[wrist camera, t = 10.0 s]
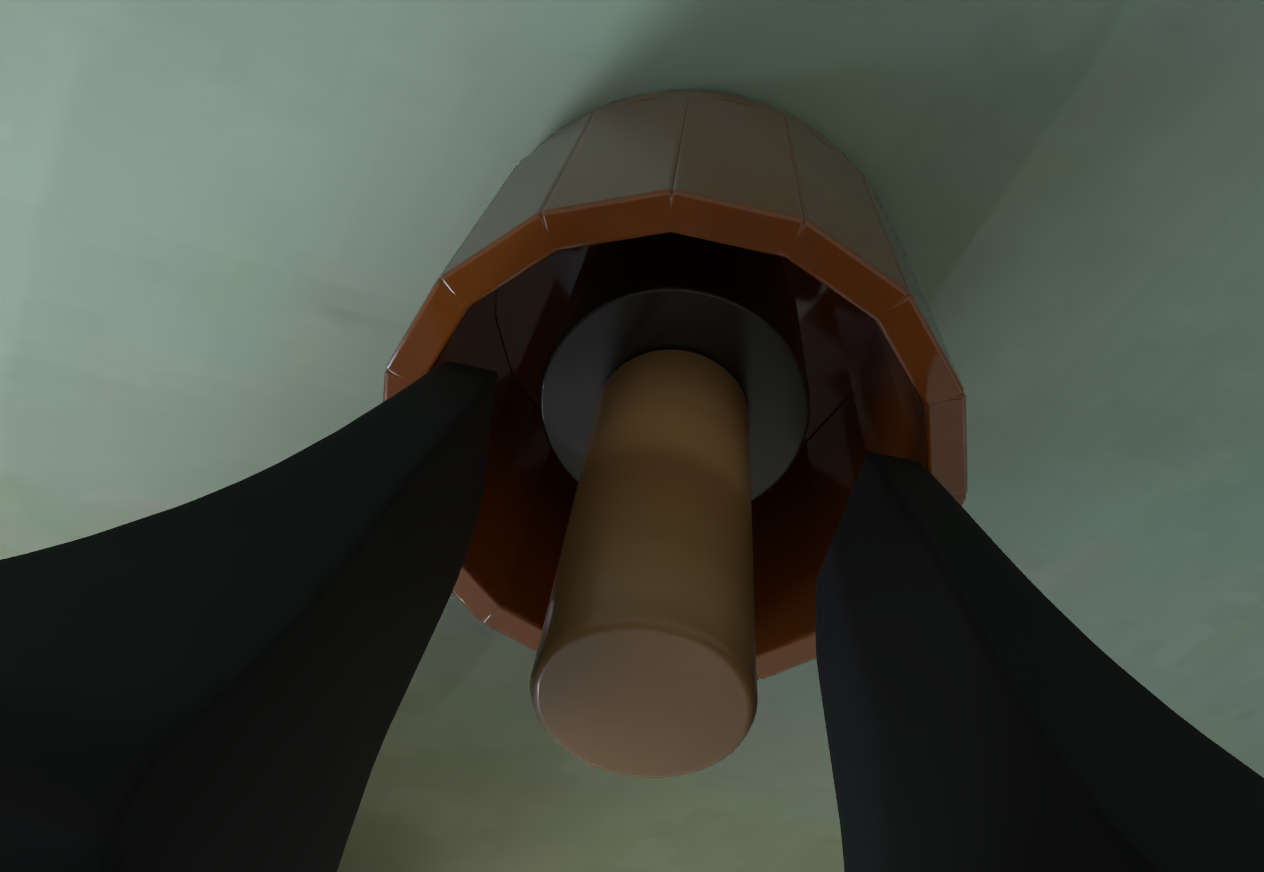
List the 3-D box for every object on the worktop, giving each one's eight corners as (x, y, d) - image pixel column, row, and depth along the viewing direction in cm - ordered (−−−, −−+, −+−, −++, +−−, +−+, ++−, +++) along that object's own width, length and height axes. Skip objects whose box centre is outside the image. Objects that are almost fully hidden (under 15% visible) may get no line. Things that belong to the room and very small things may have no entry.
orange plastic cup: (824, 514, 17) (854, 728, 13) (459, 436, 17) (369, 627, 13) (967, 146, 13) (1074, 279, 9) (503, 41, 13) (396, 128, 9)
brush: (762, 434, 16) (785, 865, 9) (555, 390, 16) (423, 793, 9) (826, 237, 14) (916, 599, 7) (591, 185, 14) (457, 503, 7)
